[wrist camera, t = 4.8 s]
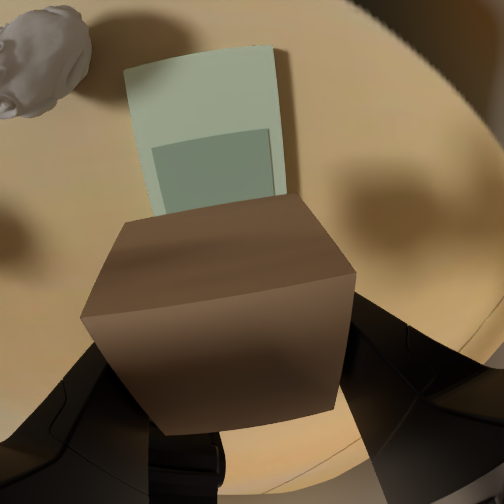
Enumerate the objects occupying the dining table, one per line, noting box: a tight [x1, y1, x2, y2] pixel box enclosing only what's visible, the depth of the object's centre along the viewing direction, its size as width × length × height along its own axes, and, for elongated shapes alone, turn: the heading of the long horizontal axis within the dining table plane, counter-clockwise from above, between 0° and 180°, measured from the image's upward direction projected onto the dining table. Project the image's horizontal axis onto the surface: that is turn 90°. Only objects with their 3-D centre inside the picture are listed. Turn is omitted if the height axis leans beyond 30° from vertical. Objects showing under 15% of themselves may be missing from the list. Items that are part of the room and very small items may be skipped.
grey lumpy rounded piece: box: [0, 5, 92, 119], centre depth 9 cm, size 6×7×7 cm
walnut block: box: [80, 193, 356, 436], centre depth 8 cm, size 5×5×4 cm
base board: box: [123, 45, 287, 217], centre depth 16 cm, size 12×8×1 cm, turn 7°
